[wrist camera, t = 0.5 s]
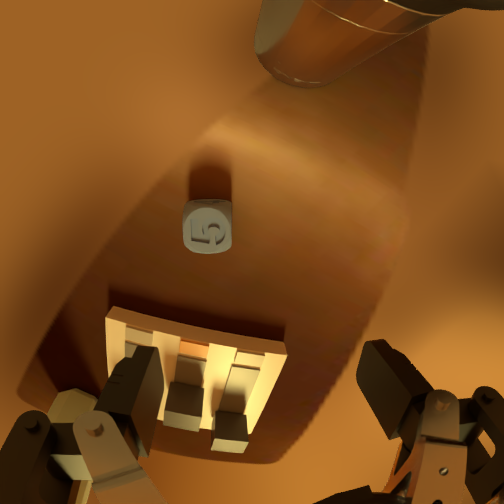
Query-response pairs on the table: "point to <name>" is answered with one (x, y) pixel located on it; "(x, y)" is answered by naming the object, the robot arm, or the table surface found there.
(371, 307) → the table surface
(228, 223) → the decorative dice
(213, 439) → the block
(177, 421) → the block
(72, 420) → the water bottle
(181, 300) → the table surface
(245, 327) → the table surface
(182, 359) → the breaker panel
